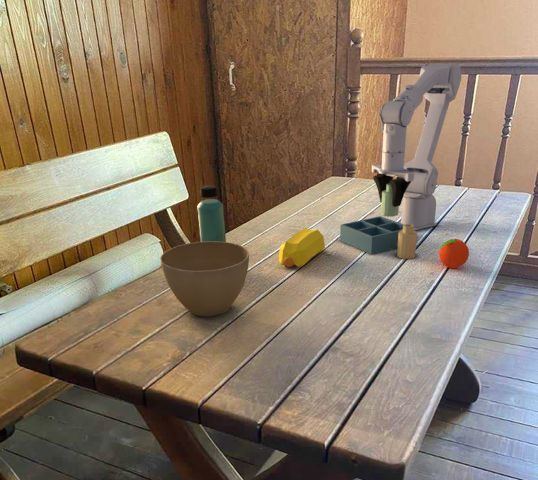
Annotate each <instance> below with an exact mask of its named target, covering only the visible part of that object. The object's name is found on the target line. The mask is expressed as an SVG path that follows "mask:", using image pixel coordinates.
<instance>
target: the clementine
mask: <svg viewBox="0 0 538 480" xmlns="http://www.w3.org/2000/svg"><path fill="white" fill-rule="evenodd" d="M469 256H470V249H469V246H468V245H467V243H466V242H464V241H463V240H461V239H458V238H451V239H449V240H448V239H447V240H446V241H445V242H443V244H442V245H441V246H440V248H439V250H438V258H439V261H440V262H441V264H442V265H443V266H444V267H446V268H449V269H458V268H460V267H462V266H464V265H465V264H466V263H467V261H468V259H469Z"/></svg>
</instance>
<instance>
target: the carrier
mask: <svg viewBox="0 0 538 480" xmlns="http://www.w3.org/2000/svg"><path fill="white" fill-rule="evenodd" d="M398 222H399V221H395V220H392V219H389V218H386V217H385V216H382V215H378V216H375V217H370V218H364V219H359V220H356V221H355V220H354V221H351V222H346V223H341V224H340V227H339V228H340V229H339V232H340V233H339V236H340V237H339V241H340V242H342V243H345V244H347V245H349V246H352V247H353V248H356V249H358V250H361V251H363V252H365V253H367V254H370V255H374V254H379V253H383V252H386V251H391V250H394V249H397V248H398V235H399V231H401V230H403V225H404V224H401V223H398Z"/></svg>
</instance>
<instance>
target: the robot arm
mask: <svg viewBox="0 0 538 480" xmlns="http://www.w3.org/2000/svg"><path fill="white" fill-rule="evenodd" d="M461 82H462V68H461V65H460V64H459V63H458V62H454V63H430V62H426V63H424V64H423V66H421V67H420V72H419V77H418V78H417V80H416V81H415V82H414V84H406V85H405V87H404V88H403V89H402V90H401V91H400V92H399V93H398V94H397V95H396V96H395V97H394V99H392V100H388V101H386V102H385V103H383V104H382V106H381V109H380V113H379V121H380V125H381V126H380V127H381V128H380V129H381V130H380V131H381V133H383V134H382V150H381V164H379V163H377V164H371V173H373V174H376V175H373V176H372V180H373V182H374V183H375V185H376V188H377V192H378V197H379V203H381V204H382V191H383V190H386V186H387V184H389V183H391V187H392V195H393V197H392V203H393V206H394V207H396V206H399V207H400V206H401V205H402V207H401V218H400V219H401V220H400V221H397V222H398V223H401V224H404V225H405V224H412V225H414V231H418V230H423V229H428V228H431V227H436V226H437V223H436V212H437V200H436V197H435V195H433V194H434V193H435V191H436V189H437V185H438V177H439V171H438V168H437V167H436V166H435V165H434V164H433V159H434V156H435V153H436V149H437V145H438V143H439V139H440V136H441V132H442V129H443V125H444V122H445V119H446V116H447V111H448V109H449V106H450V103H451V102H453V101H454V100H456V97H457V94H458V91H459V88H460V85H461ZM424 99H426V100H427V101H428V102H429V107H428V110H427V114H426V118H425V121H424V124H423V127H422V130H421V134H420V138H419V141H418V145H417V148H416V151H415V155H414V158H412V159H411V160H410V161H408V162H406V163H405V154H406V144H407V143H406V142H407V140H406V139H407V130H408V129H407V127H408V126H409V125H410V124H411V121H412V117H413V116H414V113H415V111H416V109H418V107H419V106H420V105H422V103H423V101H424ZM393 178H395V179H393Z"/></svg>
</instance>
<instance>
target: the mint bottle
mask: <svg viewBox="0 0 538 480" xmlns="http://www.w3.org/2000/svg"><path fill="white" fill-rule="evenodd" d="M392 197H393V195H392V187H391V183H389V184H387V186H386V190H383V191H382V203H381V204H380V205H381V206H380V212H381V213H380V216H382V217H390V218H391V217H397V216H399V210H400V206H396V207H394V206H393V203H392Z"/></svg>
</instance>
